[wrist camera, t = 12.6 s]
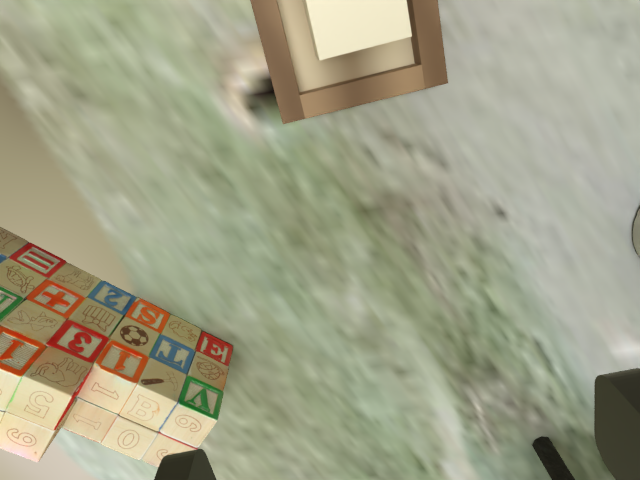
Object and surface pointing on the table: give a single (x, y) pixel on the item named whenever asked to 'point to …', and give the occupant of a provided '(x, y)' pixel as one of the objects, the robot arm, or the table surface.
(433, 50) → the wooden serving tray
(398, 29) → the block
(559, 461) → the solar garden light
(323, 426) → the table surface
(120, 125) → the table surface
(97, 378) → the stack of blocks
